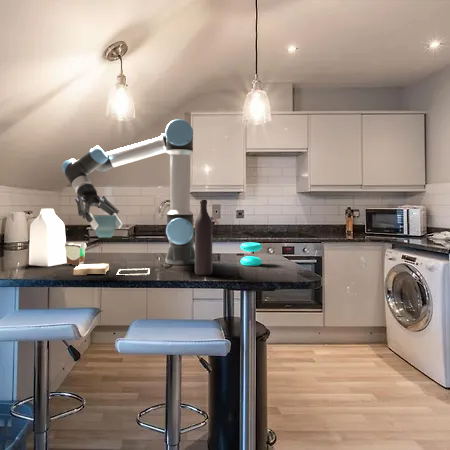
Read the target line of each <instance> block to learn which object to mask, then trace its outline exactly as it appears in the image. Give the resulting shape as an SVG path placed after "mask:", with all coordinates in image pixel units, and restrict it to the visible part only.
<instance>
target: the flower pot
mask: <svg viewBox="0 0 450 450" xmlns="http://www.w3.org/2000/svg"><path fill="white" fill-rule="evenodd" d="M92 215H93V217H94V219H95V220H96V222H97V223H98V227H97V228H96V230H94V231H95V233H96V235H97V237H98V238H100V239H101V238H112V237H113V236H114V233H115V230H116V227H117V226H116V217H117V216H115V215H109V214H107V215H105V214H104V215H103V214H99V215H97V214H92Z"/></svg>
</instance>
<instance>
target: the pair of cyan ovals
mask: <svg viewBox="0 0 450 450" xmlns="http://www.w3.org/2000/svg"><path fill="white" fill-rule="evenodd" d="M240 249H241V250H242V251H244V252H247V253H248V252H249V253H251V252H252V253H253V252H254V253H255V252H259V251H261V250H262V249H263V245H262V244H261V243H259V242H243V243H241V245H240ZM240 264H241V265H243V266H247V267H257V266H260V265H262V264H263V260H262V259H261V258H260V257H258V256H252V255H250V256H244V257H242V258H241V259H240Z"/></svg>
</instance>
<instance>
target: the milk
mask: <svg viewBox="0 0 450 450" xmlns="http://www.w3.org/2000/svg"><path fill="white" fill-rule="evenodd" d="M65 226H66V225H65V223H64V222H63V221H62V219H60V217H58V215H56V212H55V210H54V208H41V210H40V212H39V215H38V216H37V217H35V219H33V221H32V222H31V224H30V225H29V249H28V250H29V251H28V252H29V253H28V254H29V256H28V265H29V266H37V267H38V266H39V267H53V266H58V265H63V264H64V265H65V264H67V262H66V250H65V247H64V246H65V243H67V237H66V227H65Z"/></svg>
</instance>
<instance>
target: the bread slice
mask: <svg viewBox="0 0 450 450" xmlns="http://www.w3.org/2000/svg"><path fill="white" fill-rule="evenodd" d="M109 270H110V264H109V263H90V264H89V263H87V264H85V263H84V264H80V265H78V266H77V265H76V266H75V268H73V276H88V275H87V274H105V275H106V274H107V273H108V272H107V271H109ZM106 272H107V273H106Z"/></svg>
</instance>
